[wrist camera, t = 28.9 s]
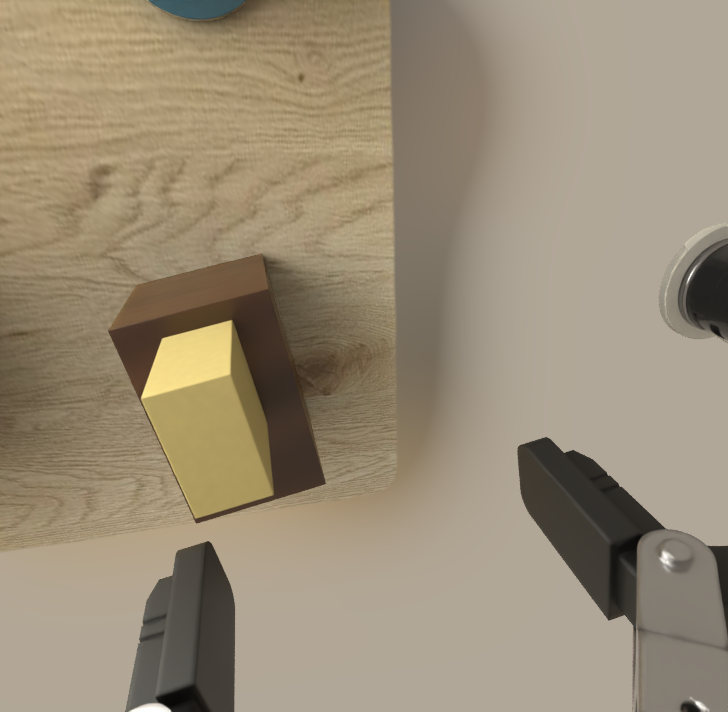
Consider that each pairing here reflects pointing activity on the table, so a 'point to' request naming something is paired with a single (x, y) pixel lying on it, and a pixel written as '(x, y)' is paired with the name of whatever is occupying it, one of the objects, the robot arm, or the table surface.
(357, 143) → the table surface
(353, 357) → the table surface
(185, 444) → the butter block
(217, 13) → the plate
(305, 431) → the butter stand
